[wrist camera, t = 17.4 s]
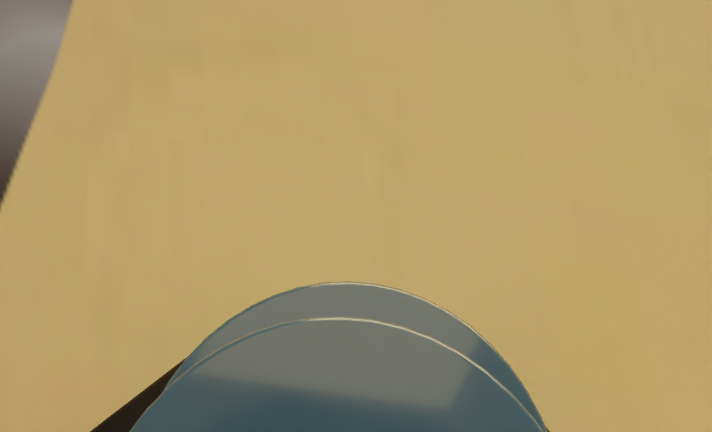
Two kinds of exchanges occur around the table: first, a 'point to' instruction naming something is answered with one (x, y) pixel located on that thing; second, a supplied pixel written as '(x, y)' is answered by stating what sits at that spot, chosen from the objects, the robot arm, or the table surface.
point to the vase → (343, 370)
